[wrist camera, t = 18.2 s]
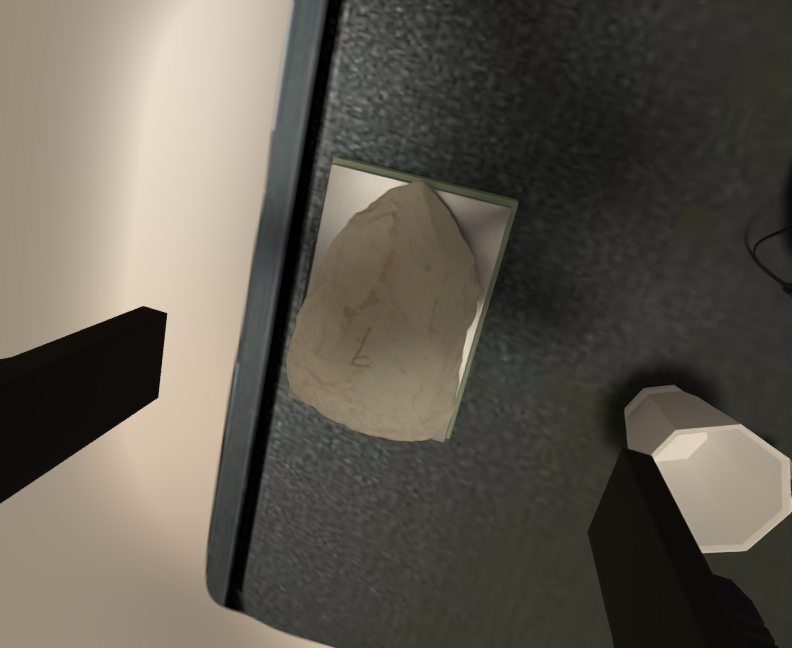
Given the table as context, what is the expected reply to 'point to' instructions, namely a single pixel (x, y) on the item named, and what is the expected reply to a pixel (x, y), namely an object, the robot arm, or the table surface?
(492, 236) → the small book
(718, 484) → the cup
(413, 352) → the stone
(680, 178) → the table surface
